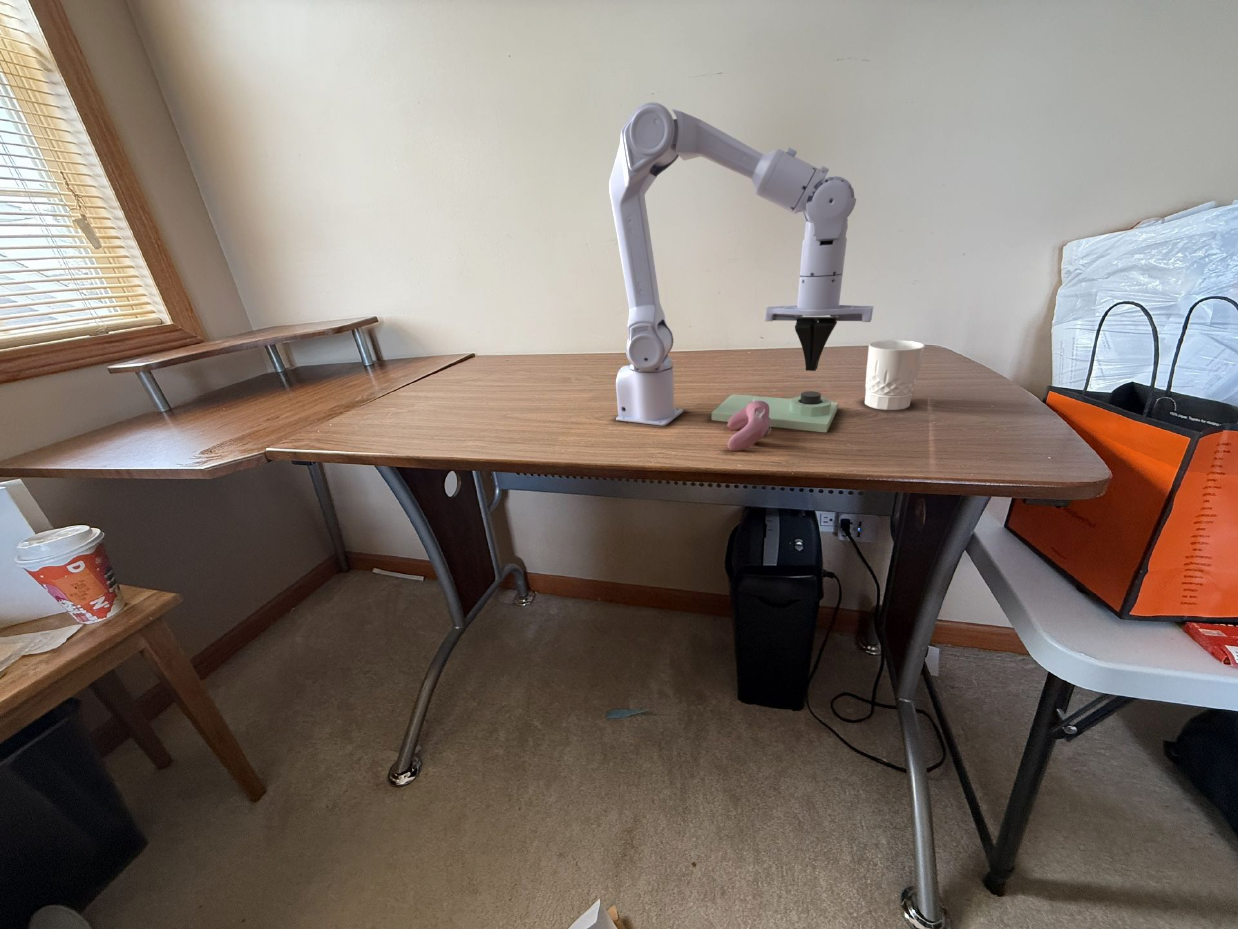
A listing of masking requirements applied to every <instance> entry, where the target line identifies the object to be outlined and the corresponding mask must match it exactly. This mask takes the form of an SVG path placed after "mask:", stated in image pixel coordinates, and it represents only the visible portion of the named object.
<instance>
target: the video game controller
mask: <svg viewBox="0 0 1238 929" xmlns="http://www.w3.org/2000/svg"><path fill="white" fill-rule="evenodd" d="M770 422H771V418H769V405H768V404H767V403H766V402H764V401H761V400H759V401H756V400H755V399H754V400H753V402H749V403H748V404H747V405H746V406H745V407H744V408H743V409H742V410H740V411H739V412H737V413H736V414H734V415H733V416H732V417H731V418H730V419H729V421H728V422H727V424H726V425H727V428H728V429H729V430H730V431H737V432H736V433H734V434H733V435H732V436H731V437H730V438H729V439H728V441H727V448H728V449H729V450H730V451H731V452H739V451H740V452H741V451H744V450H746V449H748V448H750V447H751V446H754V445H756V443H757V442H758V441H759V440H762V438H763V437H764V436H765V435H766V436H767V435H769V434H770V433H771V431H772V427H771V426H769V425H770Z"/></svg>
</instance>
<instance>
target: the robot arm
mask: <svg viewBox="0 0 1238 929" xmlns="http://www.w3.org/2000/svg"><path fill="white" fill-rule="evenodd" d="M671 111H672V112H673V114H674V115H675V118H674V117H673V115H672V114H671V112H670V111H669V109H668V108H667V106H665V105H663V104H662V103H659V102H654V101H650V102H646V103H644V104H641V105H639V107H638V108H636V109H635V111H634V112H633V113H632V114H631V116H630V117H629V119H628V120H627V121H626V123H625V124H624V126H623V127H622V129H621V130H620V138H619V139H620V140H619V146H618V149H617V153H616V156H615V157H616V158H615V160H614V164H613V166H612V170H611V174H610V177H609V182H608V189H609V190H608V191H609V196H610V203H611V208H612V214H613V219H614V220H613V221H614V226H615V232H616V237H617V244H618V250H619V255H620V256H619V257H620V260H621V269H622V273H623V279H624V286H625V292H626V297H627V304H628V310H629V313H628V318H627V319H628V320H627V331H628V339H627V342H626V345H625V354H626V357H627V360H628V362H629V363H630V364H629V365H623V366H622V367H621V368H620V369H619V370H618V372H617V374H616V380H615V388H616V389H615V391H616V404H617V415H618V416H616V417H615V418H616V419H615V420H616V421H618V422H619V421H620V422H629V423H636V424H645V425H651V426H661V427H664V426H665V427H666V426H667V425H668V424H669V423H671V422H672V421H673V420H674V419H676V418H677V417H679V416H680V415H681V414H682V413H684V409H683V408H677V407H675V388H674V386H675V383H674V362H673V361H672V359H671V358H670V356H669V353H670V352H671V351H672V349H673V346H674V334H673V331H672V330H671V328H670V327H669V326H668V323H667V322H666V315H665V311H664V310H663V307H662V305H661V301H660V294H659V286H658V278H657V272H656V266H655V260H654V259H655V257H654V251H653V246H652V245H653V244H652V238H651V232H650V231H651V230H650V224H649V218H648V217H649V216H648V210H647V203H646V193H647V192H648V190H649V189H650V187H651V186H652V185H653V183H654V182H655V180H656V179H657V178H658V176H659V175H660V174H661V173H663V172H664V171H666V170H667V169H668V168H669V167H671V166H672V165H673V164H674V163H675V162H676V161H677V160H678V159H679V158H681V160H683V161H688V160H693V159H696V158H703V159H705V160H708V161H710V162H713V163H715V164H717V165H719V166H721V167H723V168H726V169H727V170H730V171H732V172H734V173H736V174H739V175H741V176H743V177H745V178H747V179H750V180H751V182H752V187H753V191H754V194H755V195H756V196H757V197H761V198H762V199H765V200H766V201H768V202H770V203H772V204H773V205H777V206H778V207H780V208H782V209H784V210H786V211H788V212H790V213H792V214H794V215H797V214H798V213H802V216H803V218H804V220H805V228H804V239H803V240H802V244H801V255H800V268H799V278H798V293H797V303H796V305H782V306H781V305H780V306H768V307H766V308H765V319H764V320H765V322H773V321H774V322H775V321H782V322H783V321H784V322H785V321H786V322H788V321H791V322H792V321H795V325H794V330H795V333H796V335H797V338H798V340H799V342H800V346H801V348H802V352H803V356H804V363H805V364H804V365H805V371H810V372H816V371H817V369H818V366H819V362H820V360H821V356H822V354H823V350H824V349H825V346H826V344H827V342H828V340H829V338H830V336H831V334H832V332H833V331H834V329H835V328H836V326H837V324H838V322H862V323H871V322H872V319H873V313H874V306H873V305H847V304H840V302H841V292H842V284H843V276H844V268H845V257H846V252H847V251H846V250H847V242H848V238H847V232H848V227H849V224H848V221H849V218H848V217H849V216H850V215H851V214H852V212H853V210H854V209H855V206H856V203H857V198H856V197H855V191H854V188H853V186H852V184H851V183H850V182H849V180H848V179H846V178H845V177H842V176H834V175H833V176H829V177H827V174H828V173H829V171H830V169H829V167H826V166H824V165H822V166H821V167H820V168H818V167H816V166H815V165H813V164H810V163H808V162H806V161H805V160H802V159H800V158H798V157H796V155H797V149H794V148H792V147H787V149H786V151H784V150H782V149H780V148H776V149H773V150H771V151H769V152H766V153H762V152H760V151H758V150H756V149H754V148H753V147H751V146H749V145H747V144H746V143H744V142H742V141H740V140H738V139H737V138H736V137H733V136H731V135H730V134H727V133H726V132H724V131H722V130H720V129H718V128H717V127H715V126H713V125H711V124H710V123H708V122H706V121H704V120H703V119H700V118H697V117H695V116H693V115H691V114H688V113H686V112H683V111H681V110H678V109H674V108H672V109H671Z"/></svg>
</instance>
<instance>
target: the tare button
mask: <svg viewBox="0 0 1238 929" xmlns="http://www.w3.org/2000/svg"><path fill="white" fill-rule="evenodd" d="M800 396H801V400H800V403H802V404H809V405H815V404H820V402H821V397H822V393H821V392H819V391H814V390H813V391H812V390H808V391H807V390H806V391H802V392H801V393H800Z"/></svg>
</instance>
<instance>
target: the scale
mask: <svg viewBox="0 0 1238 929" xmlns="http://www.w3.org/2000/svg"><path fill="white" fill-rule="evenodd" d="M754 399H755V400H756V401H759V400H761V401H764V402H766V403H767V404H768V405H769V418H771V422H770V425H769V427H771V428H772V427H773V428H782V429H783V428H784V429H790V430H792V429H793V430H799V431H800V430H801V431H807V432H808V431H810V432H817V433H828V430H829V428H830V426H831V424H832V422H833V420H834V417H835V415H836V413H837V411H838V406H839V402H835V401H832V400H830V399H829V398H827V397H823V396H821V402H820V404H815V405H809V404H802V403H800V400H801V395H799V396H794V397H792V398H788V397H787V398H784V397H773V396H763V395H762V396H760V395H749V394H735V393H731V394H730V396H728V397H727V398H726V399H724V401H723V402H722V403H720V404H719V405H718V406H717V407H716V408H715V409H713V410H712V412H711V421H718V422H727V423H728V421H729V419H730V418H731V417H732V416H733V415H734V414H736V413H737V412H739V411H740V410H742V409H743V408H744V407H745V406H746V405H747V404H748V403H749V402H753V400H754Z"/></svg>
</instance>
